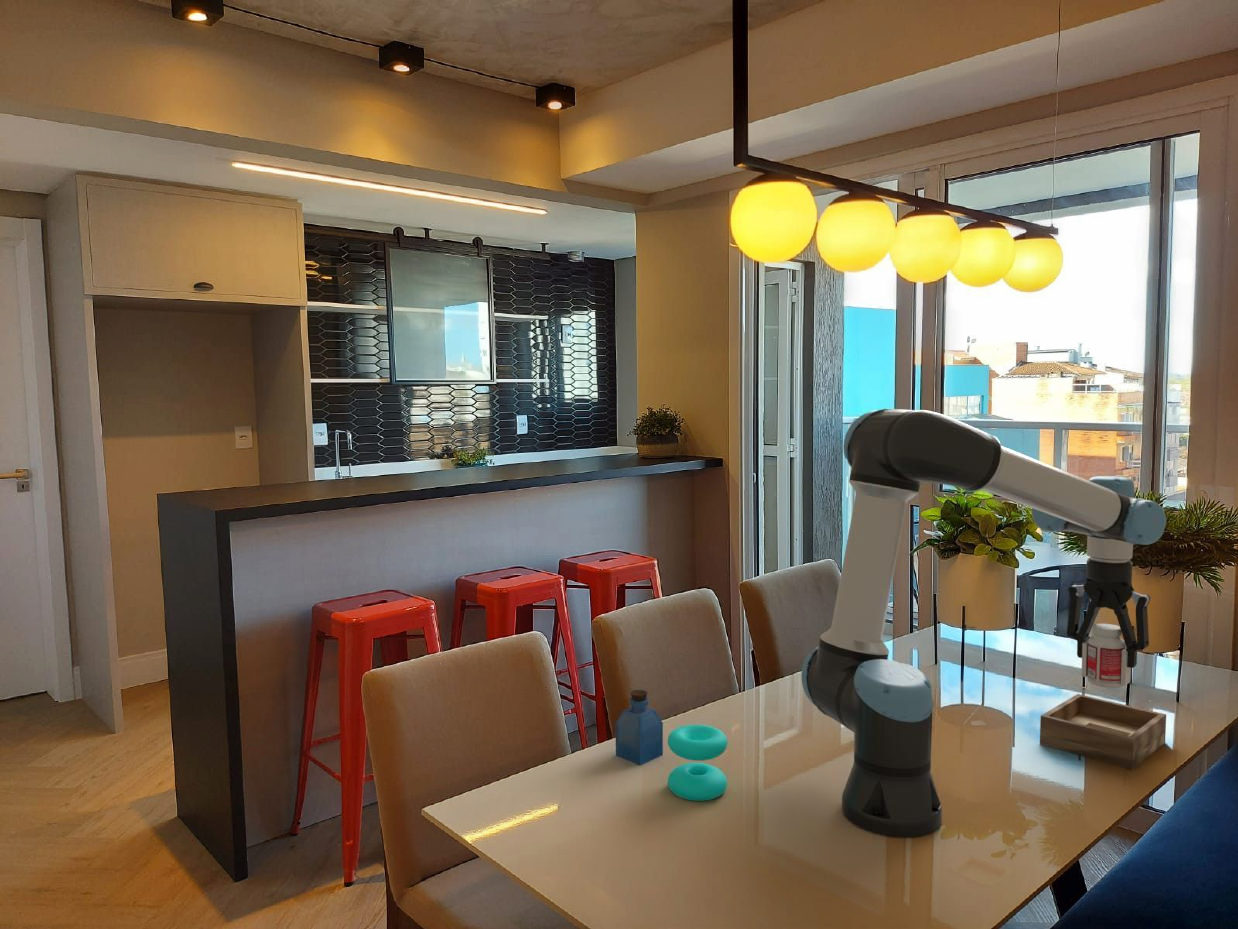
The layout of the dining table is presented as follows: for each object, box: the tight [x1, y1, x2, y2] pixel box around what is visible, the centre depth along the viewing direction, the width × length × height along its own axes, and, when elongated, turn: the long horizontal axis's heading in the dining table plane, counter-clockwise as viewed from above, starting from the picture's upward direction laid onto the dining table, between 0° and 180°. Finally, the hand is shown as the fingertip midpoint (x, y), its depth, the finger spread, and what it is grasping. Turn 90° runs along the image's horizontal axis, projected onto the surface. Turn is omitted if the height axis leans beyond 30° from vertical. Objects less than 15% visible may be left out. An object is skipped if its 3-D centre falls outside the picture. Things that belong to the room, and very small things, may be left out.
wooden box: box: [1039, 693, 1167, 770], centre depth 168 cm, size 18×16×6 cm
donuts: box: [667, 724, 728, 802], centre depth 149 cm, size 10×10×10 cm
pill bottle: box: [1087, 623, 1126, 689], centre depth 167 cm, size 6×6×11 cm
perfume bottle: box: [615, 689, 664, 766], centre depth 164 cm, size 6×6×12 cm
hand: (1105, 679), depth 168 cm, fingers closed on pill bottle, 6 cm apart
